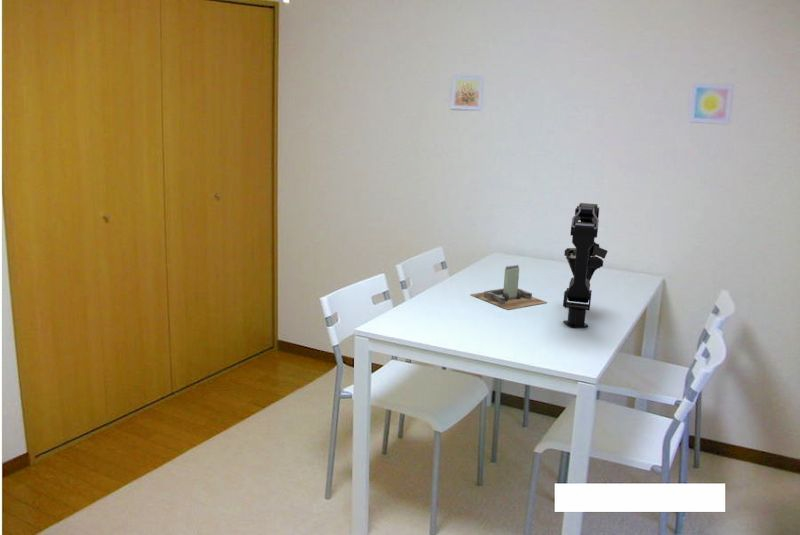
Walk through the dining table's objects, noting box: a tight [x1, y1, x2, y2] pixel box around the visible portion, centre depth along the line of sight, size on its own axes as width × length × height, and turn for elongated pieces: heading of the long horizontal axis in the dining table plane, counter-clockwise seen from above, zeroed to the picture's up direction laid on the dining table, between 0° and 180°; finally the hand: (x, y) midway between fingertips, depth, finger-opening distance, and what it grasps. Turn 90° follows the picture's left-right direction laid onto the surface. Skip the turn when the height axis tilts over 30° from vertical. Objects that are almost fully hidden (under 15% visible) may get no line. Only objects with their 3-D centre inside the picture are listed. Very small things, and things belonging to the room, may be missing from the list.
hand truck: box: [499, 264, 522, 301], centre depth 263 cm, size 6×7×13 cm
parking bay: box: [470, 287, 548, 311], centre depth 265 cm, size 22×20×3 cm
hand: (581, 280), depth 249 cm, fingers open, 9 cm apart
